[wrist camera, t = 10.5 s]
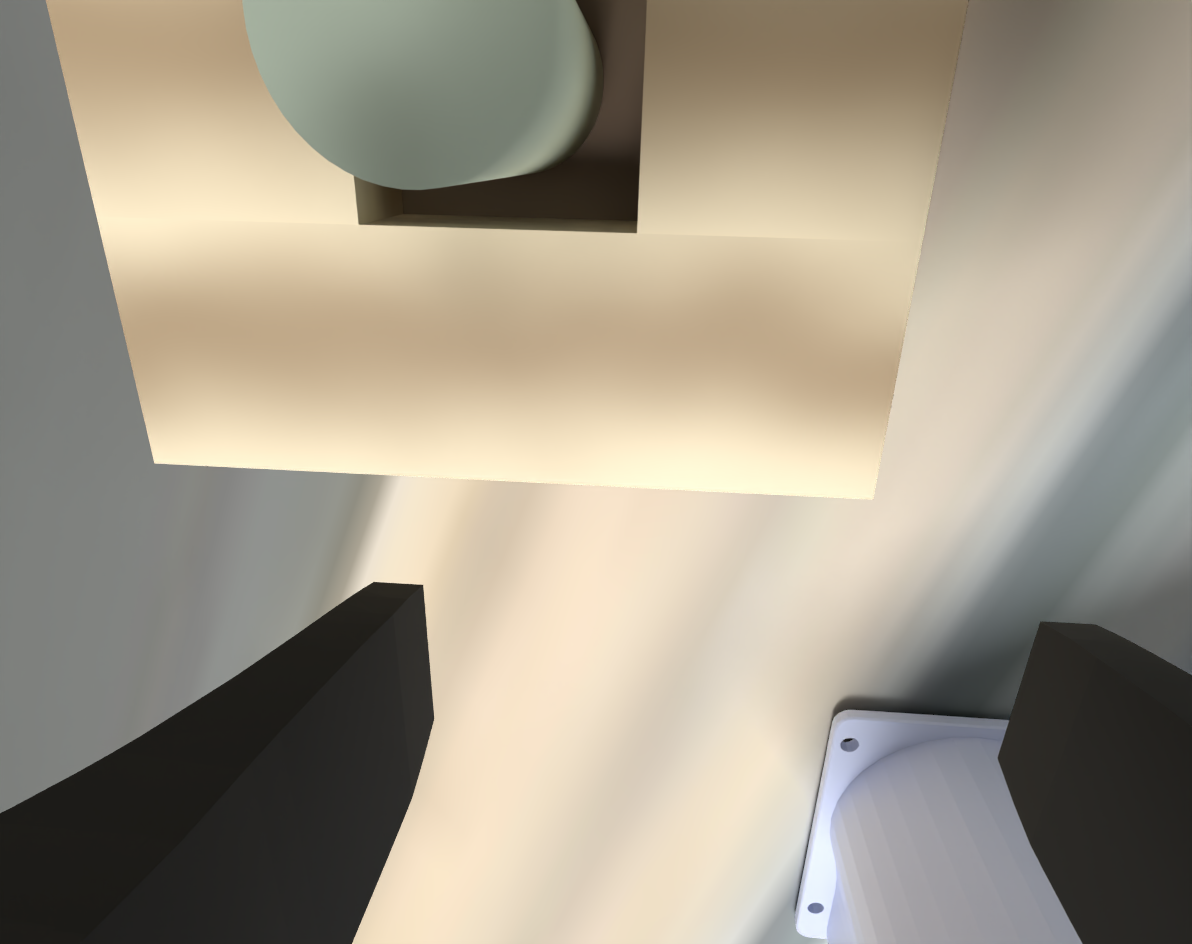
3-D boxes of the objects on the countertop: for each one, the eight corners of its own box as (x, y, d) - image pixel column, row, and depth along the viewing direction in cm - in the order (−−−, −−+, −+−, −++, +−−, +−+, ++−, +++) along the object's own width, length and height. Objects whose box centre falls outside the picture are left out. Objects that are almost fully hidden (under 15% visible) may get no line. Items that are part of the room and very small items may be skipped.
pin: (606, 170, 16) (566, 183, 9) (445, 177, 16) (279, 195, 9) (599, -23, 15) (547, -199, 7) (424, -13, 15) (206, -171, 8)
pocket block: (840, 448, 19) (873, 499, 16) (224, 419, 19) (154, 463, 17) (990, -453, 12) (1089, -630, 9) (64, -433, 13) (-93, -589, 10)
